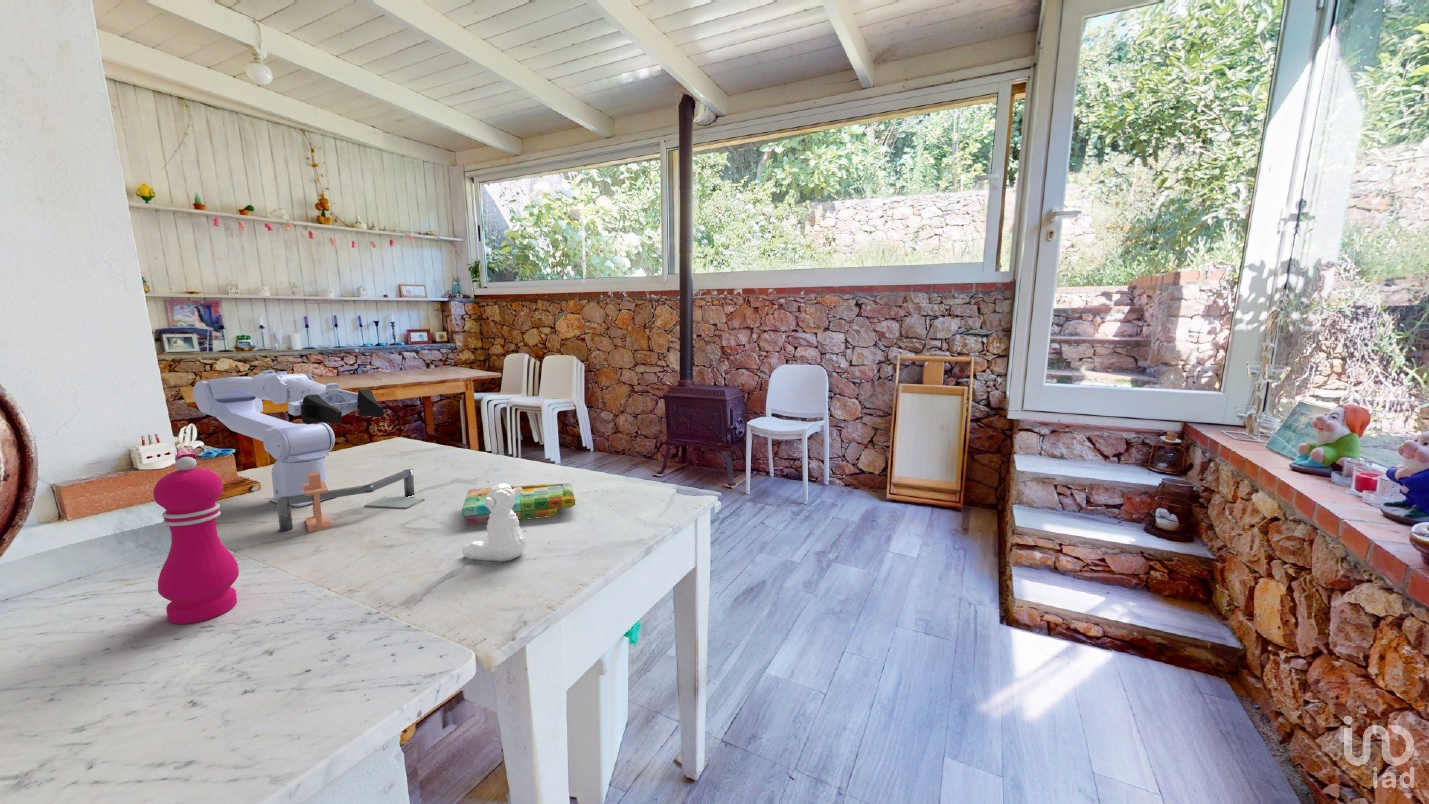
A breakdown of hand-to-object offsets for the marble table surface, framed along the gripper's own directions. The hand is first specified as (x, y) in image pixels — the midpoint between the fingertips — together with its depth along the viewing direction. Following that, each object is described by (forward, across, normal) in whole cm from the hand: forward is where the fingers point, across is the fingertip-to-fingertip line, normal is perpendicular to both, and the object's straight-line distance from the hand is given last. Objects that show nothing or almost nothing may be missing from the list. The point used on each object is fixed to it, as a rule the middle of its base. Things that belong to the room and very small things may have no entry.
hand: (361, 414), depth 97 cm
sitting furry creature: (+39, -1, +14) cm, 41 cm away
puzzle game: (+27, +15, +16) cm, 35 cm away
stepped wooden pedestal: (0, -7, +20) cm, 21 cm away
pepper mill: (+19, -31, +17) cm, 40 cm away
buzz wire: (0, 0, +20) cm, 20 cm away
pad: (+1, +7, +20) cm, 21 cm away
